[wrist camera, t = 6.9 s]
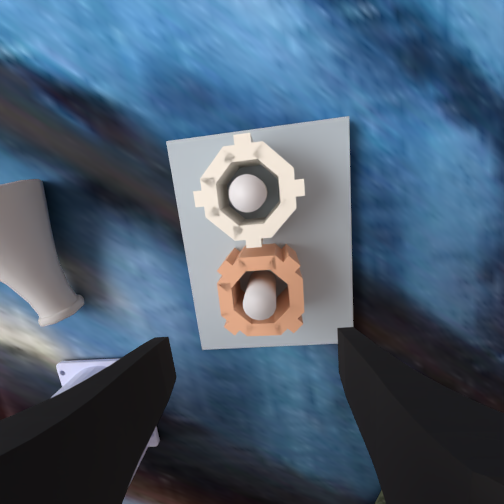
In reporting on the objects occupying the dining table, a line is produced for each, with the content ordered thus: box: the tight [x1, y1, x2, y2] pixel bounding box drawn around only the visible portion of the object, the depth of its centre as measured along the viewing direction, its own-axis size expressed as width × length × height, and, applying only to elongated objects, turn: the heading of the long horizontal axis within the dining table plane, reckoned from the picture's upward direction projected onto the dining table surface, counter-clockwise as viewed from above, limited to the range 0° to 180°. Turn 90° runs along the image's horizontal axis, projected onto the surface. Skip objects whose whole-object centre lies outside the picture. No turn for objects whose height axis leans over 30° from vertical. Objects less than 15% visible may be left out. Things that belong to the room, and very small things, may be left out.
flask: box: [0, 179, 84, 327], centre depth 19 cm, size 7×7×10 cm
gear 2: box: [217, 243, 304, 336], centre depth 17 cm, size 5×5×4 cm
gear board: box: [166, 116, 353, 350], centre depth 17 cm, size 16×12×5 cm
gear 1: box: [193, 133, 305, 248], centre depth 16 cm, size 5×5×4 cm
